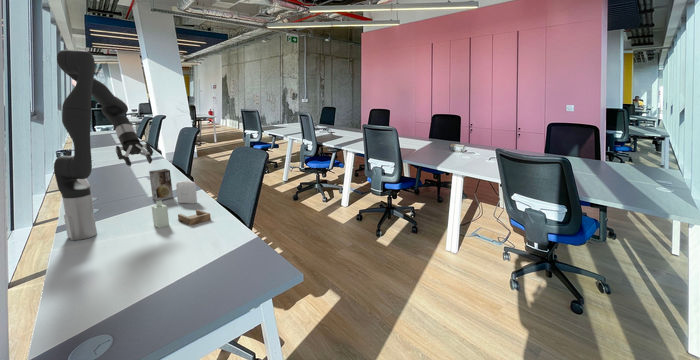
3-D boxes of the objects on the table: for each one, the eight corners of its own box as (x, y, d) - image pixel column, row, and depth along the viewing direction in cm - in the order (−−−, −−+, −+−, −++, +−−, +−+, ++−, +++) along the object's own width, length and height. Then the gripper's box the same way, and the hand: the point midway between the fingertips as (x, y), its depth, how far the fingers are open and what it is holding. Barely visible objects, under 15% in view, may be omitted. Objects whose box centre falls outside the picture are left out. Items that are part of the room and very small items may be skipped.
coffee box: (168, 195, 211) (165, 168, 208) (173, 197, 208) (170, 169, 204) (152, 198, 205) (148, 170, 201) (157, 200, 201) (153, 172, 197)
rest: (190, 225, 162) (189, 219, 161) (178, 220, 168) (177, 214, 167) (210, 219, 169) (210, 213, 169) (198, 215, 176) (198, 209, 175)
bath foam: (76, 210, 182) (69, 171, 178) (77, 207, 188) (71, 169, 184) (93, 208, 186) (87, 170, 182) (93, 205, 192) (87, 168, 187)
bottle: (158, 228, 158) (155, 200, 156) (153, 225, 161) (150, 198, 158) (169, 225, 162) (166, 198, 159) (164, 223, 165) (161, 196, 162)
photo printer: (198, 202, 198) (196, 180, 196) (194, 204, 194) (192, 181, 192) (181, 201, 200) (179, 179, 197) (176, 203, 196) (174, 181, 193)
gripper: (111, 132, 160) (124, 161, 156) (145, 129, 171) (158, 156, 167) (108, 142, 165) (121, 171, 161) (142, 139, 176) (155, 166, 172)
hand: (140, 163), depth 164 cm, fingers open, 8 cm apart
